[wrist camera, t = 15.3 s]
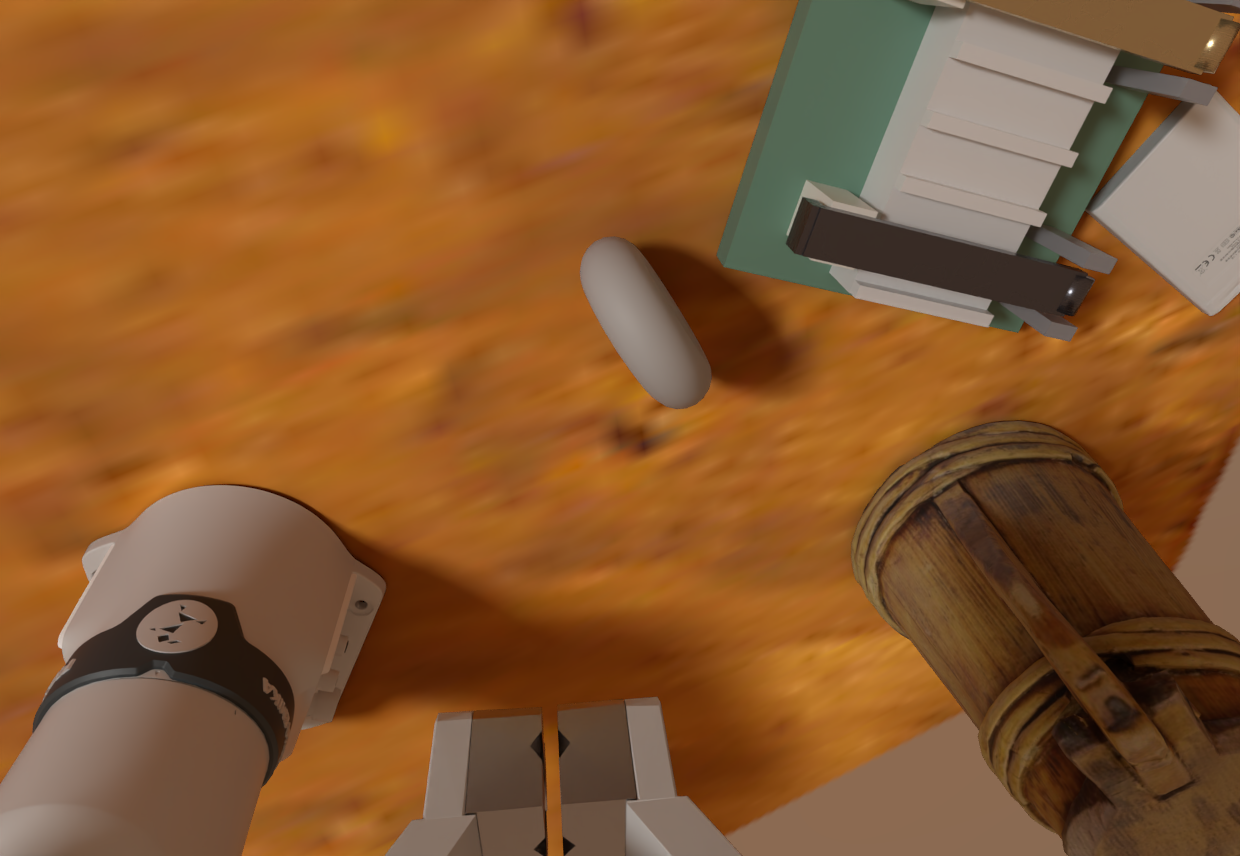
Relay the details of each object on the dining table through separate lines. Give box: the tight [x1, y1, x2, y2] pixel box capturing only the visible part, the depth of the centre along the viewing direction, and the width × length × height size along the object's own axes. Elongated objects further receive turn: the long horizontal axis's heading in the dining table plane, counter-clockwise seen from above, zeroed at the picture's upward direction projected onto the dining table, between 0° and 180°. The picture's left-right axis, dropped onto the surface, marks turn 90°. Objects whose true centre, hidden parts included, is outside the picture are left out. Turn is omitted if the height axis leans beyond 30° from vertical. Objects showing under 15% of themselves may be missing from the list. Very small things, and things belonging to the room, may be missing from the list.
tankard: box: [851, 421, 1240, 856], centre depth 46 cm, size 18×24×25 cm
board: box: [717, 0, 1240, 341], centre depth 39 cm, size 20×19×8 cm
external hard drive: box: [1085, 84, 1240, 316], centre depth 46 cm, size 2×8×12 cm
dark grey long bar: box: [785, 197, 1095, 317], centre depth 39 cm, size 2×16×2 cm, turn 76°
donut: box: [580, 237, 712, 409], centre depth 41 cm, size 10×3×10 cm, turn 33°
